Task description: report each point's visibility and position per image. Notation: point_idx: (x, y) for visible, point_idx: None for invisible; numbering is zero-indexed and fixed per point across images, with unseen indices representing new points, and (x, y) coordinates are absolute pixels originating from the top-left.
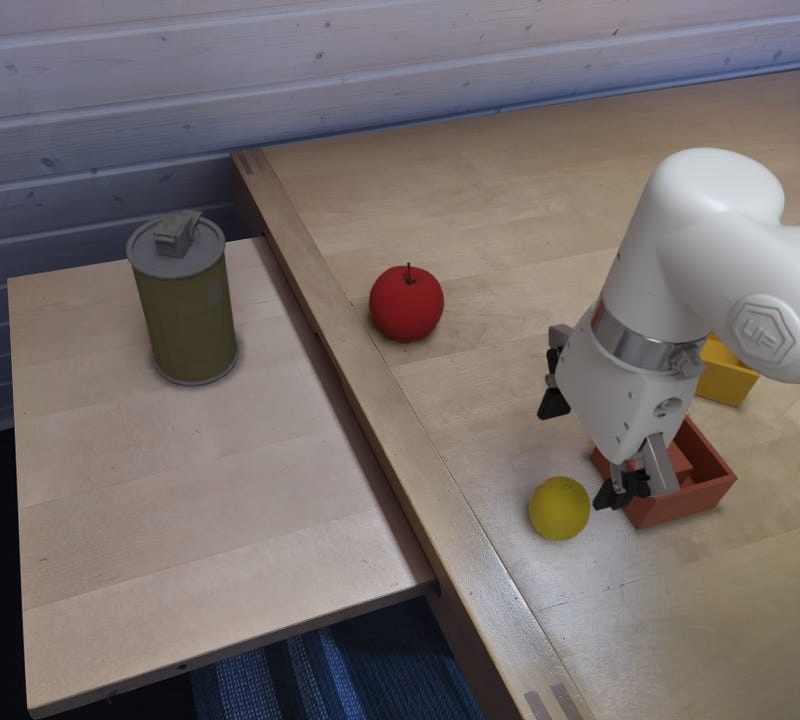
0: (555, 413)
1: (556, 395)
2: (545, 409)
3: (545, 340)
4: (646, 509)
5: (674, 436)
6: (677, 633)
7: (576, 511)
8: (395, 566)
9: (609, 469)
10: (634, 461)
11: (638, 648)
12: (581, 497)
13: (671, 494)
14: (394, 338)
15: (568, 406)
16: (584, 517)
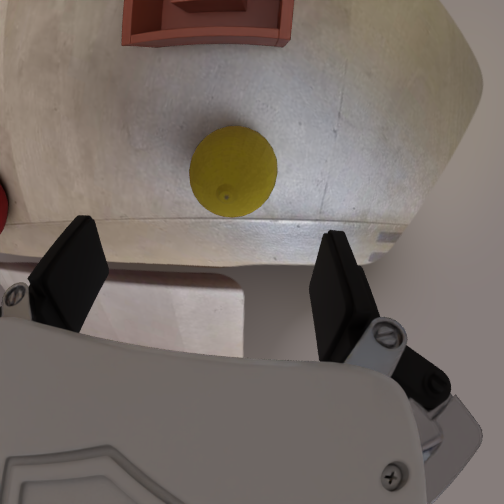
0: (96, 259)
1: (72, 324)
2: (94, 298)
3: (8, 54)
4: (280, 42)
5: (426, 502)
6: (407, 104)
7: (263, 189)
8: (227, 296)
9: (187, 42)
10: (190, 7)
11: (399, 151)
12: (246, 178)
13: (287, 9)
14: (6, 218)
15: (81, 245)
16: (271, 169)
